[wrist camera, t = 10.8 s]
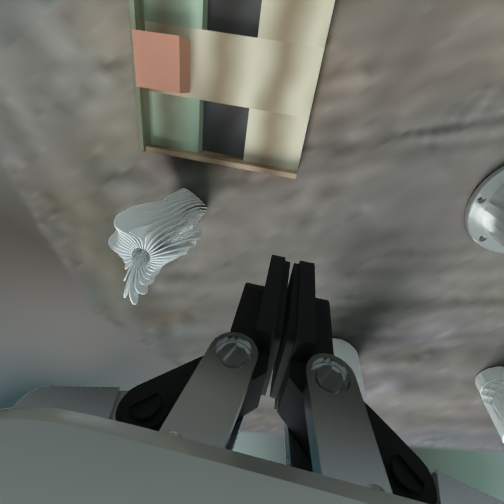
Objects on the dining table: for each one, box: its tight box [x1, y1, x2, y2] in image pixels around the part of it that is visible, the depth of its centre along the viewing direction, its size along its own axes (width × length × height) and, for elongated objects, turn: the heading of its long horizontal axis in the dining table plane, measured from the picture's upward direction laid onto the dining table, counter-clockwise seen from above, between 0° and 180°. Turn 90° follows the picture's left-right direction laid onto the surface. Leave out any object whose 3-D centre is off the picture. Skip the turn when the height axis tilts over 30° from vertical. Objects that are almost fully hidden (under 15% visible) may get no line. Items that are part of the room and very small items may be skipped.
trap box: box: [128, 0, 335, 179], centre depth 31 cm, size 20×20×4 cm
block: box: [132, 29, 190, 93], centre depth 31 cm, size 5×5×3 cm
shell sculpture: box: [108, 188, 207, 305], centre depth 35 cm, size 8×8×18 cm
